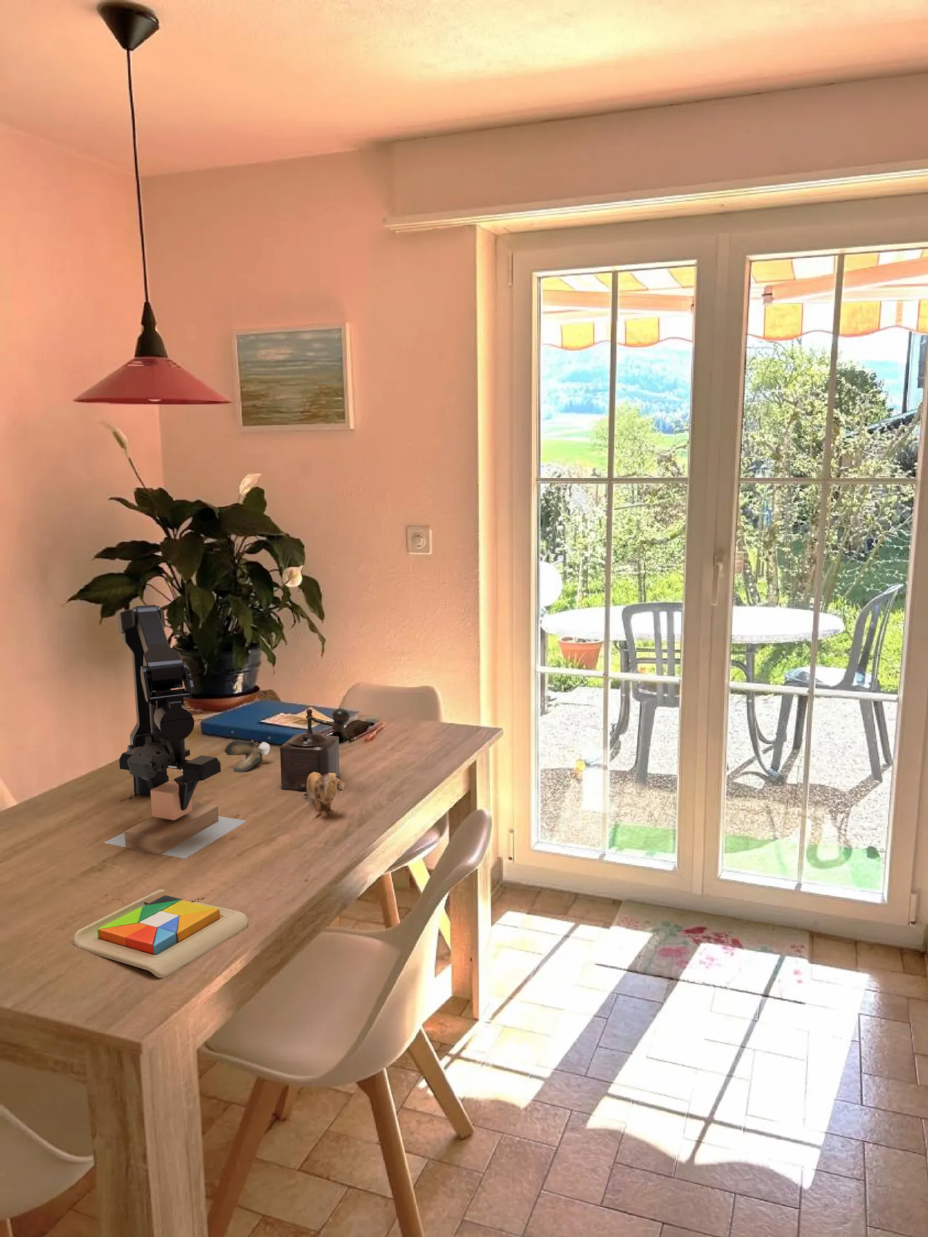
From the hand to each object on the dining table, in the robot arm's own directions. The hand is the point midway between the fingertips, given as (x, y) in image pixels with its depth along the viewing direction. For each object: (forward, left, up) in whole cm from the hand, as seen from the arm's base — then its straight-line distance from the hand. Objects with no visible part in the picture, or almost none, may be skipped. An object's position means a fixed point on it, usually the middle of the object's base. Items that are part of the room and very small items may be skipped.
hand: (172, 807), depth 164 cm
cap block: (0, 0, -1) cm, 1 cm away
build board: (0, +1, -6) cm, 6 cm away
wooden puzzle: (+21, -28, -7) cm, 36 cm away
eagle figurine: (-12, +40, -6) cm, 42 cm away
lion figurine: (+18, +23, -6) cm, 30 cm away
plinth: (0, 0, -5) cm, 5 cm away
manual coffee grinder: (+10, +36, -6) cm, 38 cm away
